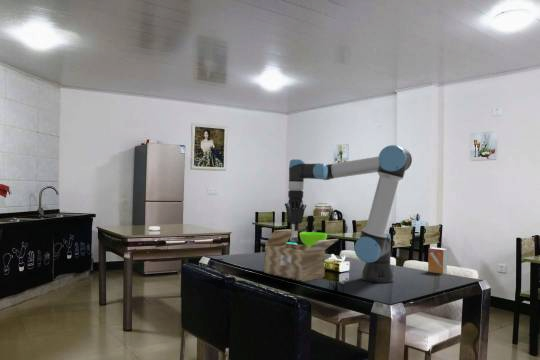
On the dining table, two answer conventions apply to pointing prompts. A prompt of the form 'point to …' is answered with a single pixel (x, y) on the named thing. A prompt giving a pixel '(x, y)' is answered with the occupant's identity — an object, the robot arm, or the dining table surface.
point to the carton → (294, 261)
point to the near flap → (321, 245)
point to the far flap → (279, 237)
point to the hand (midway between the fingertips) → (294, 237)
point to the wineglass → (312, 237)
